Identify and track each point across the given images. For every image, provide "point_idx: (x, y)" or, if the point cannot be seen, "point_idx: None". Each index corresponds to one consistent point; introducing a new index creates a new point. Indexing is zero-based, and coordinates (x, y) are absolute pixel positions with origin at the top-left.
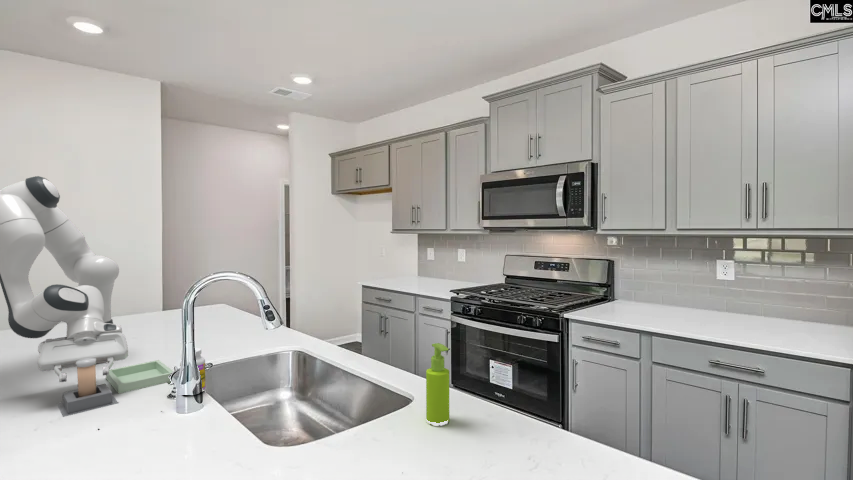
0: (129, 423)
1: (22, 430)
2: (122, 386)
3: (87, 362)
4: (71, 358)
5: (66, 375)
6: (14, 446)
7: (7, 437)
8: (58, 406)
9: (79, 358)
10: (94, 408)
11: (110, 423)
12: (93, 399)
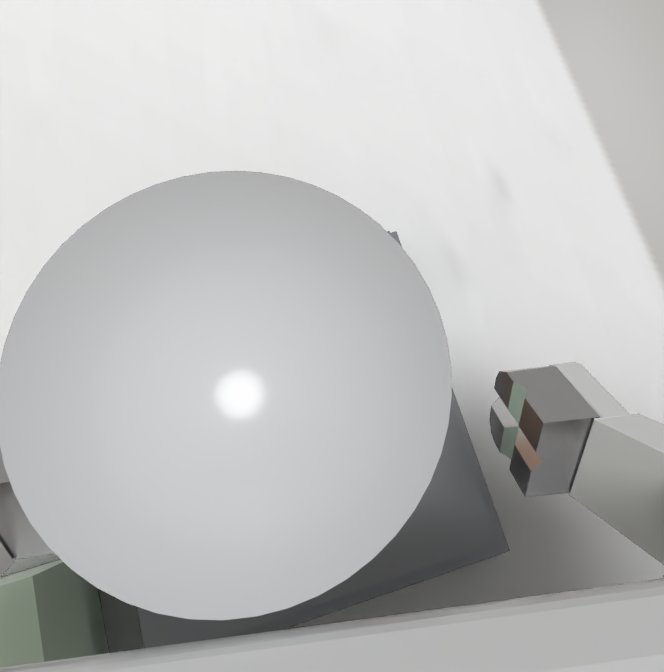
0: (47, 26)
1: (565, 207)
2: (8, 581)
3: (185, 184)
4: (659, 665)
5: (527, 467)
6: (525, 29)
7: (602, 149)
8: (477, 461)
9: (433, 646)
10: None
11: (138, 73)
12: None
